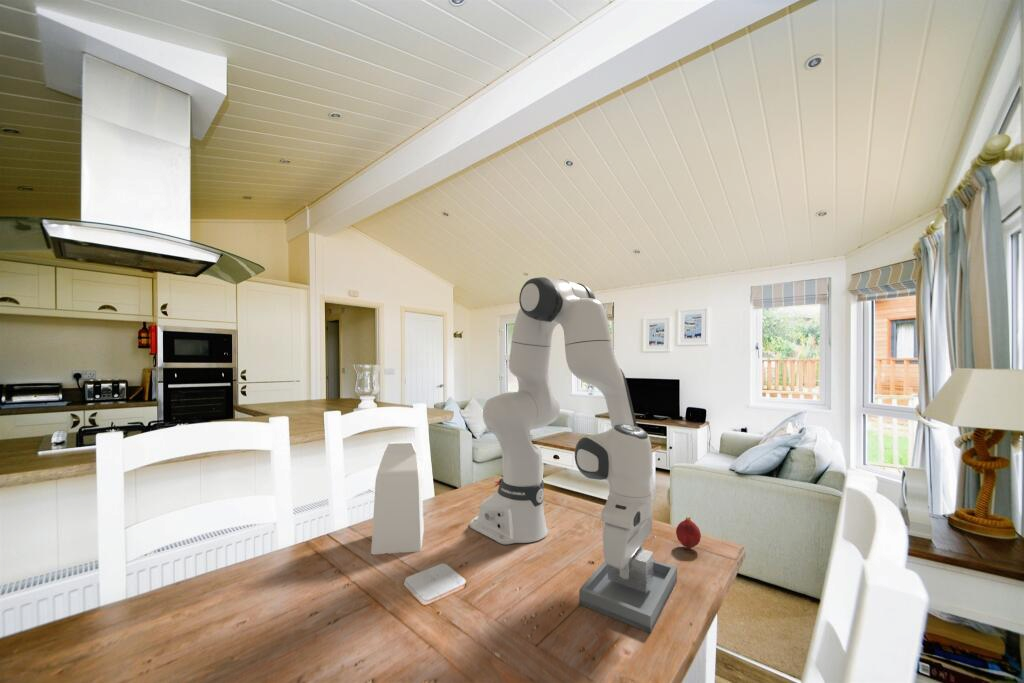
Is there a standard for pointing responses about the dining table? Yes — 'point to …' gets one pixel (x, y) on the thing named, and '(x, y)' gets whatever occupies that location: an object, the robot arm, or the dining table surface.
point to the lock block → (636, 571)
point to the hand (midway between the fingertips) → (630, 569)
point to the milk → (398, 501)
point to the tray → (629, 596)
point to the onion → (688, 533)
